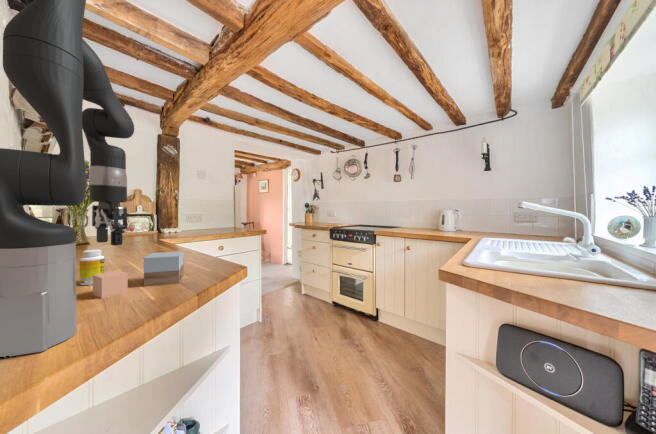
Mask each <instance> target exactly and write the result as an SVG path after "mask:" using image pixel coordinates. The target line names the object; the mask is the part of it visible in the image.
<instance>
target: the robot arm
mask: <svg viewBox="0 0 656 434" xmlns="http://www.w3.org/2000/svg"><path fill="white" fill-rule="evenodd" d="M24 1H25V3H26V6H25V7H24V8H22V9H21V10H19V12H18V13H16V14H15V15H14V16H13V17H11V19H10V20H9V21H8V22H7V24H6V25H5V27H4V31H3V34H2V67H3V68H2V69H3V71H4V74H5V75H6V77H7V79H8V80H9V81H10V83H11V84H12V86H13V87H14V89H16V90H17V92H18V93H19V94H20V95H21V97H22V98H23V99H24V100H25V102H27V103H28V104H29V105H30V106H31V108H32V109H33V110H34V111H35V112H36V113H37V115H39V117H40V118H41V120H42V121H43V122H44V124H45V125H46V127H47V128H48V129H49V130H50V132H51V134H52V135H53V137H54V139H55V140H56V142H57V145H58V148H59V153H57V154H55V153H48V152H38V151H31V150H23V149H22V150H21V149H14V148H5V147H4V148H2V147H1V148H0V357H4V358H7V357H6V356H9V357H8V358H10V357H15V356H21V355H28V354H35V353H41V352H45V351H46V350H48V349H49V348H51V347H53V346H56V345H58V344H60V343H63V342H65V341H67V340H68V339H70V338H72V337H73V336H74V335H75V334H76V333H77V329H78V327H77V326H78V325H77V324H78V323H77V318H78V317H77V252H76V251H77V249H76V248H77V246H76V245H77V241H76V238H77V237H76V235H77V234H76V230H75V228H74V227H72V226H69V225H65V224H60V223H54V222H50V221H48V220H43V219H41V218H37V217H35V216H33V215H31V214H29V213H28V212H26V210H25V208H24V206H49V207H50V206H52V207H53V206H54V207H55V206H57V207H58V206H59V207H61V206H63V207H65V206H67V207H68V206H69V207H72V206H76V207H77V206H79V205H81V204H82V203H83V201H84V199H85V197H86V192H87V171H86V161H85V160H86V159H85V148H84V137H83V136H85V139H86V142H87V145H88V148H89V153H90V154H89V157H90V159H89V160H90V169H89V173H88V181H89V182H88V188H89V189H88V190H89V193H88V195H89V199H88V200H89V201H90V202H94V203H97V202H98V204H97V205H95V204H93V205H92V207H91V208H92V210H91V226H92V227H94V229H95V230H96V242H97V243H106V242H108V241H109V233H108V232H109V231H108V228H109V230H110V245H111V246H121V245H122V244H123V232H124V230H127V229H128V209H127V206H121V204H120V203H127V202H128V176H127V161H126V159H127V156H126V155H127V154H126V151H125V150H124V148H121V147H119V146H116V145H112V144H108V142H107V140H106V138H115V139H130V138H131V137H132V136H133V134H134V133H135V124H134V121H133V119H132V118H131V116H130V114H129V112H128V111H127V109H126V108H125V107H124V106H123V104H122V102H121V101H120V99H119V97H117V95H116V94H115V91H114V88H113V86H112V84H111V80H110V78H109V76H108V73H107V70H106V68H105V65H104V64H103V62H102V60H101V59H100V57H99V56H98V54H97V53H96V52H95V50H94V49H93V48H92V47H91V46H90V45H89V44H88V42H86V41H85V40H84V39H83V29H84V19H85V18H84V17H85V10H86V5H87V0H24ZM83 100H84V101H86V102H89V103H92V104H94V105H97V106H99V107H100V108H95V107H87V108H85V109H83ZM83 134H84V135H83Z"/></svg>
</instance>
